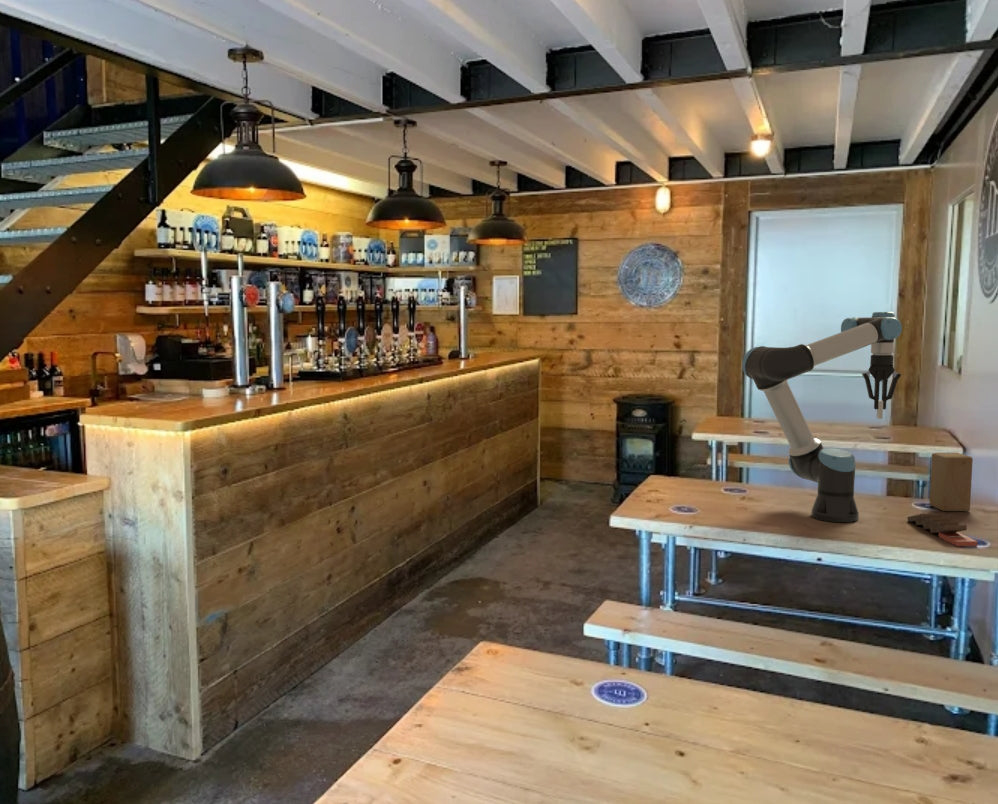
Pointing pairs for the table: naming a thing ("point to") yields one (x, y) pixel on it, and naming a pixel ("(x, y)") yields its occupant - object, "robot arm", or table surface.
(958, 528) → the tile
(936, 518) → the tile
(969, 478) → the wooden block
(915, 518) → the tile
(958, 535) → the end tile
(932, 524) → the tile
